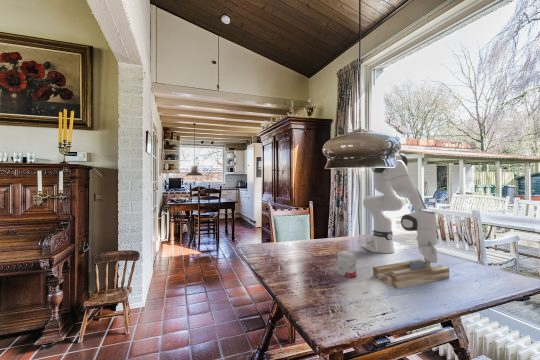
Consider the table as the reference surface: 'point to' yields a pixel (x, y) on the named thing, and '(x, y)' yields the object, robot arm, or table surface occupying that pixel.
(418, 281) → the trap lane
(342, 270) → the ink box
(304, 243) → the table surface
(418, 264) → the slate block
